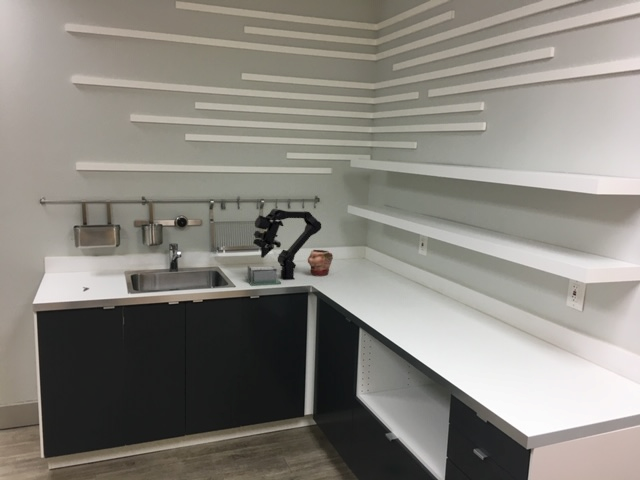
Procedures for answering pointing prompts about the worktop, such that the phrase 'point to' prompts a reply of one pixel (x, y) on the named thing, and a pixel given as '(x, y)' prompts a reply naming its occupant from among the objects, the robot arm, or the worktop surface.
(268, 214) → the robot arm
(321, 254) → the decorative planter
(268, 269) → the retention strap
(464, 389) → the worktop surface
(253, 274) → the green grey square block
